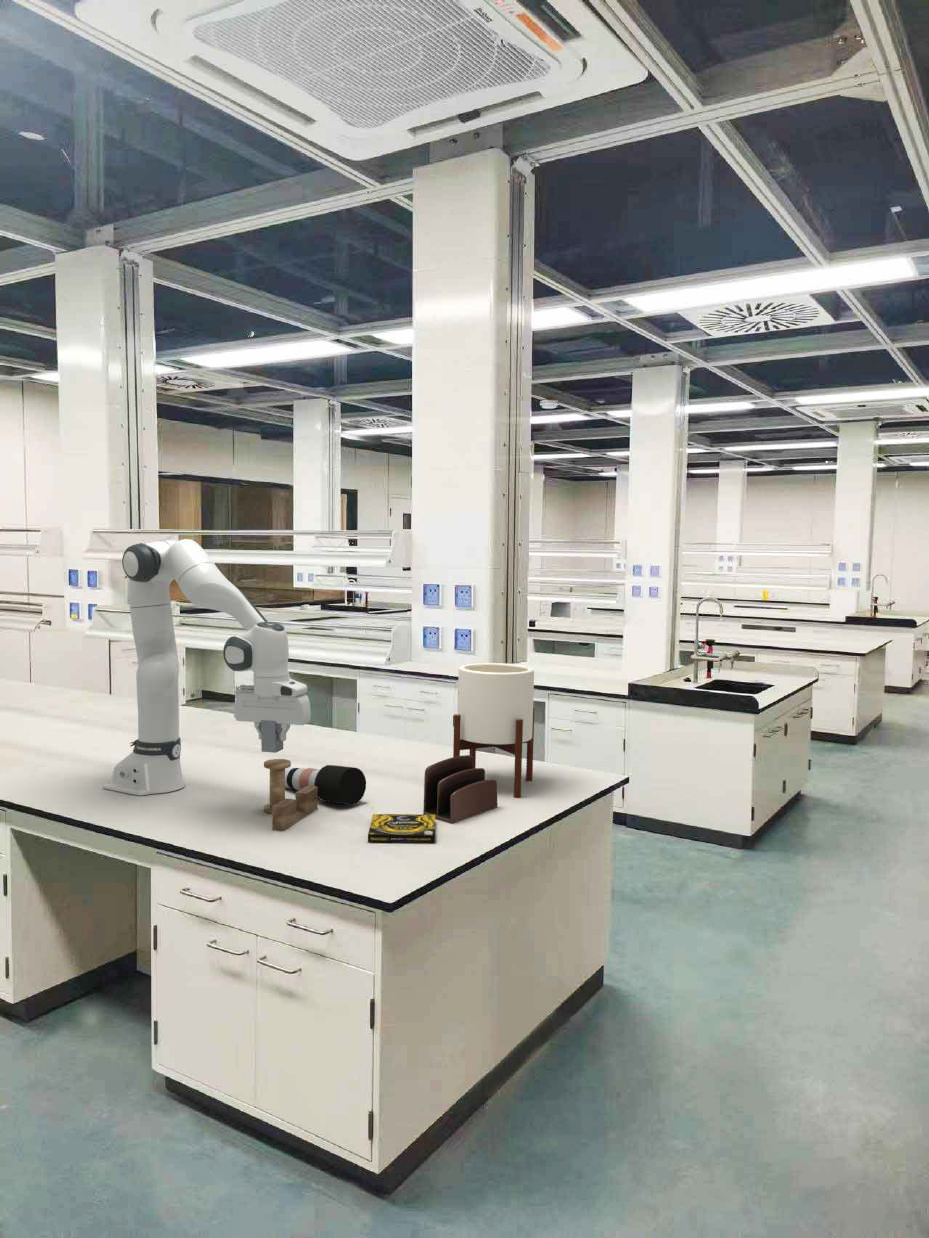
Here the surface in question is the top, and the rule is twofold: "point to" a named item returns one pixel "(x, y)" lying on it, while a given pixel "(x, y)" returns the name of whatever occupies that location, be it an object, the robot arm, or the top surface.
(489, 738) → the plant pot with stand
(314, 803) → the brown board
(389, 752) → the top surface
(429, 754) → the top surface
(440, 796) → the letter holder
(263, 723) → the block
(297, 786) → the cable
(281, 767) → the bobbin
